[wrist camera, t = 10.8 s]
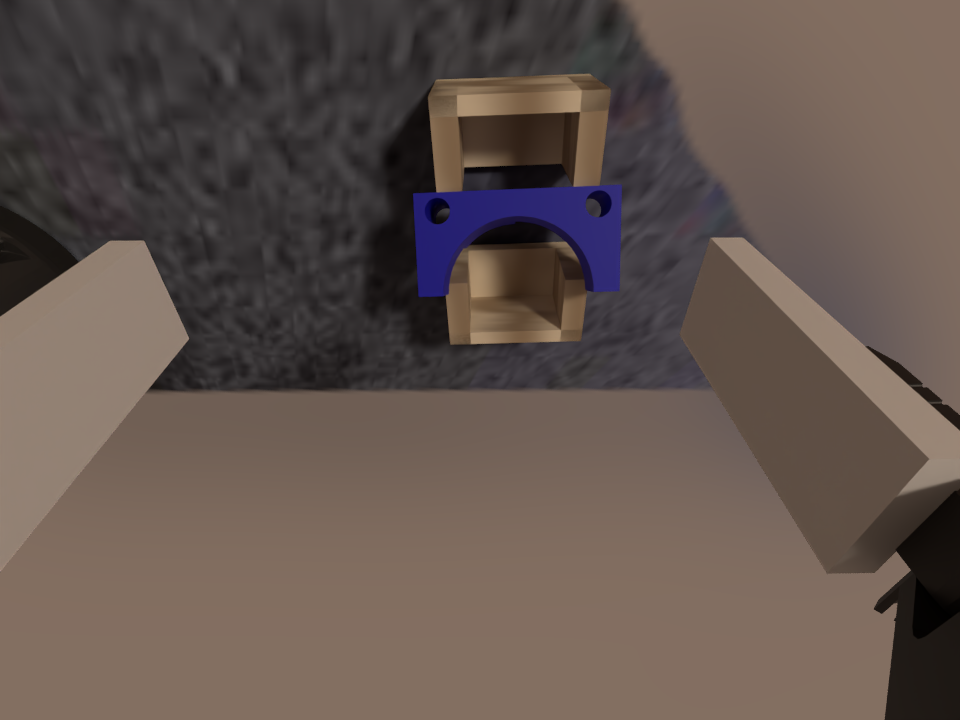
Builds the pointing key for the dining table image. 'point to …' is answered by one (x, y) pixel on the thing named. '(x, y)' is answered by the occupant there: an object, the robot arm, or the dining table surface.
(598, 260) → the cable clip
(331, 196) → the dining table surface
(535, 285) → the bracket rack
